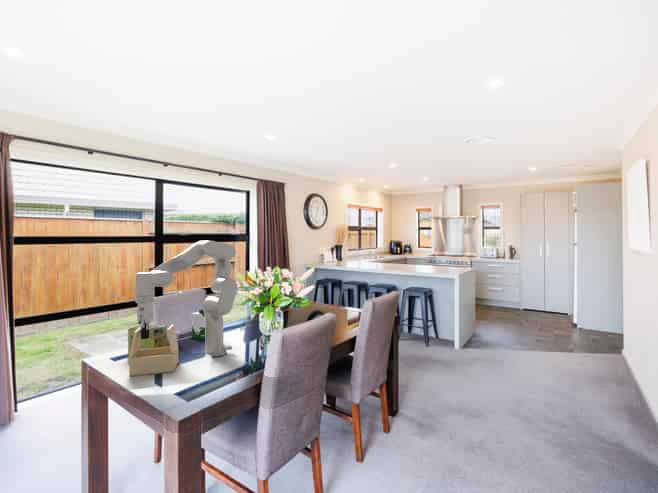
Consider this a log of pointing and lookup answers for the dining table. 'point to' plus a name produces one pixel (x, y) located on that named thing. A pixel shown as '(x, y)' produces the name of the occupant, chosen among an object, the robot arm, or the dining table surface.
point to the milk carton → (198, 324)
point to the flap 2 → (172, 338)
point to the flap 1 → (136, 342)
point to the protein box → (150, 337)
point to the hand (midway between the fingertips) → (145, 338)
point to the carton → (153, 361)
